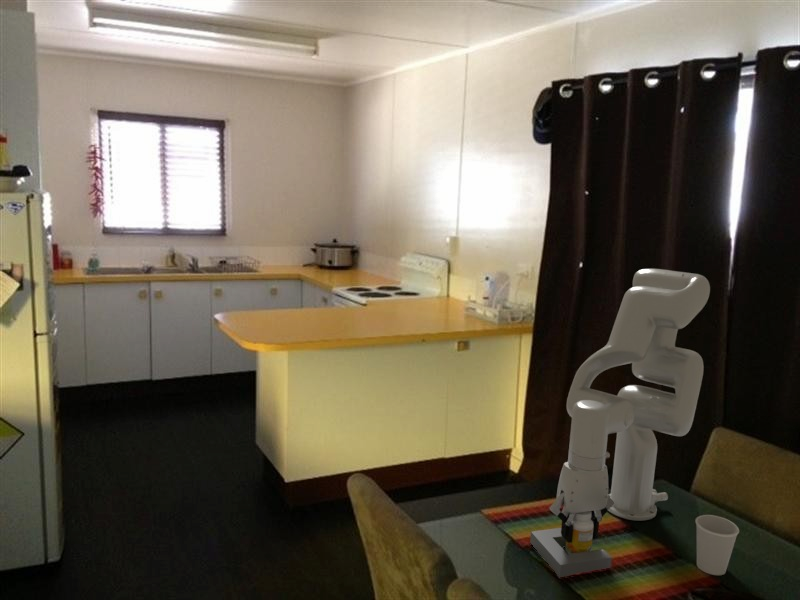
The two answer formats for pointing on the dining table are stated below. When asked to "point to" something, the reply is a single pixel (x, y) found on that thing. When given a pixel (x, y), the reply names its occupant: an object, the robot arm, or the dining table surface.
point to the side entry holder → (562, 562)
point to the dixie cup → (714, 543)
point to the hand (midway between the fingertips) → (579, 536)
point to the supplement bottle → (581, 533)
